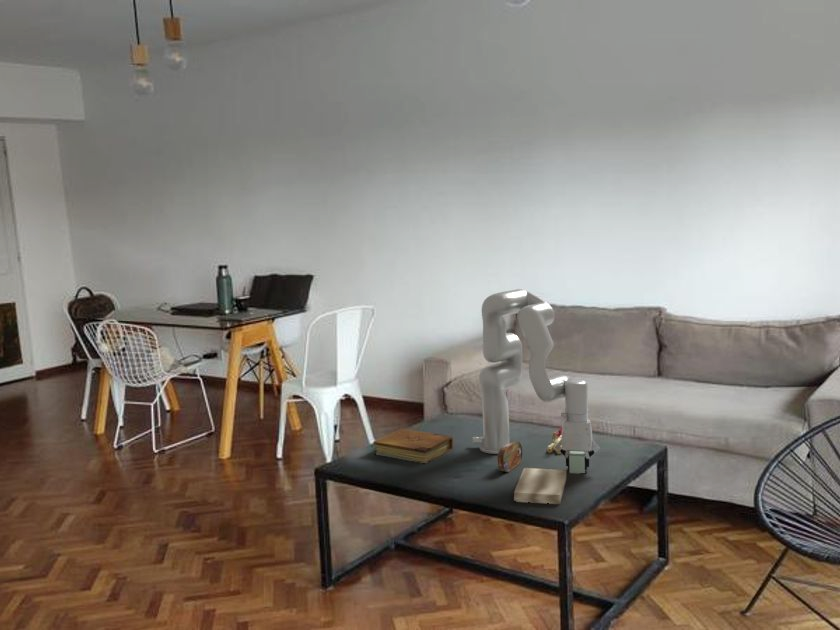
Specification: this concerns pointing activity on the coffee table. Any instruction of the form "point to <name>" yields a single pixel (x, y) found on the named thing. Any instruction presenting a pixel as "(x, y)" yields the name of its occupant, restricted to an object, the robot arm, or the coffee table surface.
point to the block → (577, 462)
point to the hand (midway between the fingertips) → (577, 467)
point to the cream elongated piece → (552, 446)
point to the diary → (414, 445)
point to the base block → (540, 486)
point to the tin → (509, 456)
